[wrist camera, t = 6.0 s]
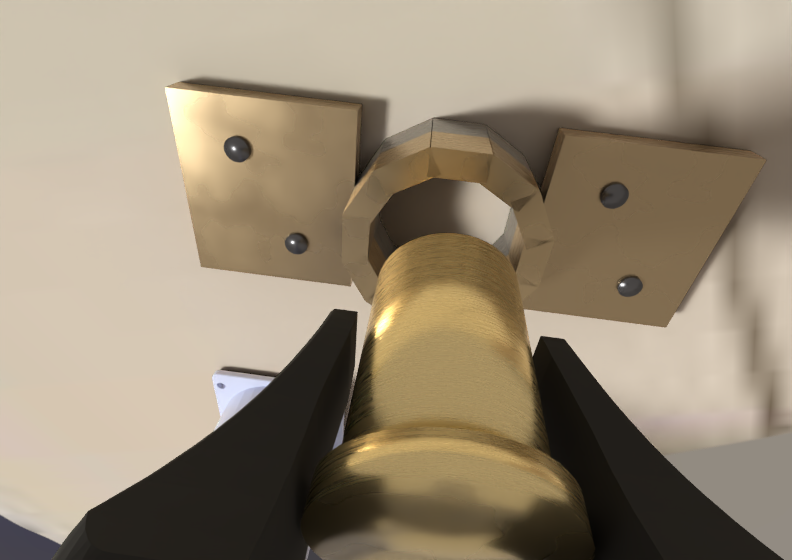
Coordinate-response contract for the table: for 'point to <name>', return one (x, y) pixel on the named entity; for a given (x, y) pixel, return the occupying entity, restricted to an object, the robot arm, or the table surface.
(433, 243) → the hinge pin
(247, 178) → the hinge
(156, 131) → the table surface
